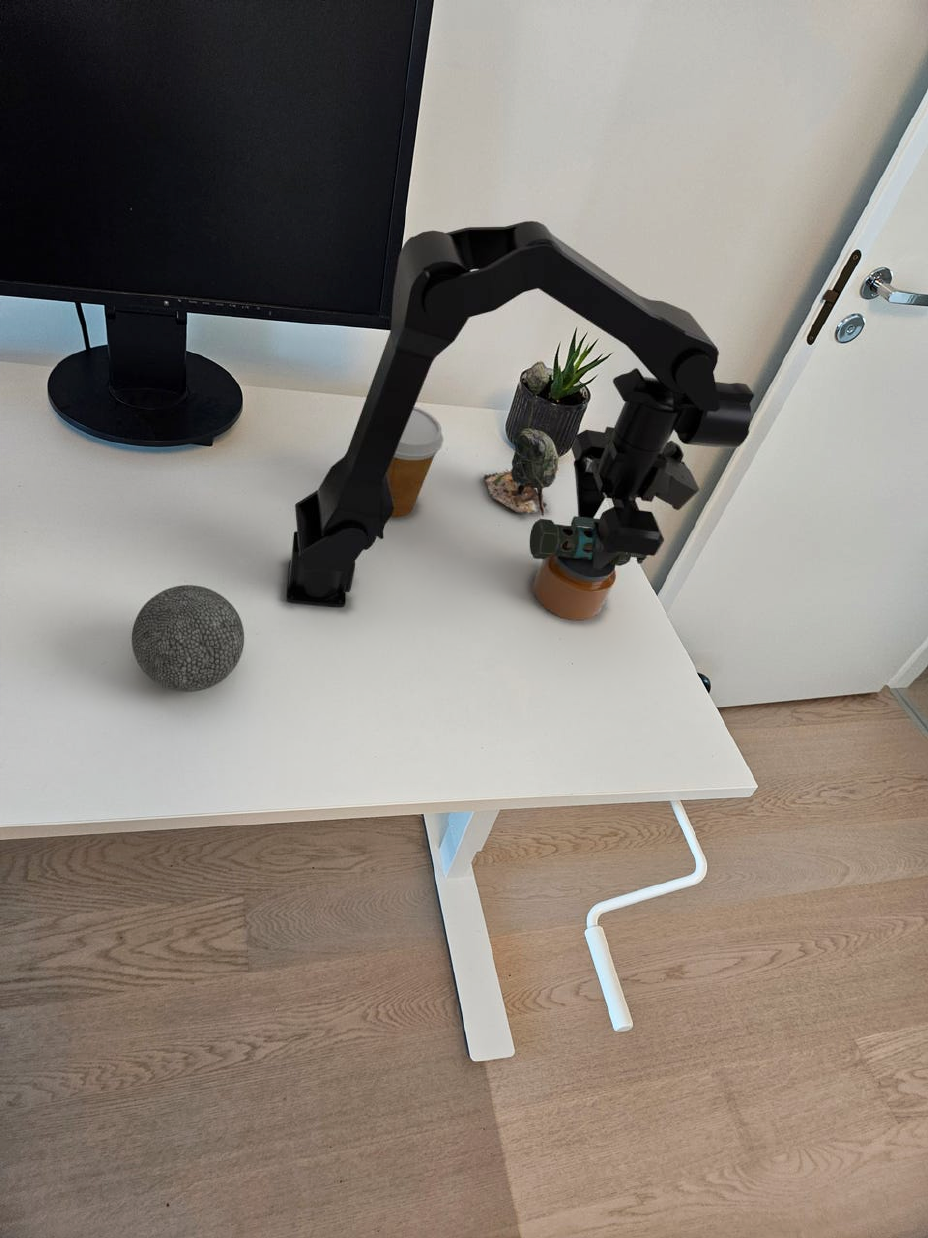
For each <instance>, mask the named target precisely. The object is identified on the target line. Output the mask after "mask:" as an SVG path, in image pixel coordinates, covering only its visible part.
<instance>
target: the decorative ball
mask: <svg viewBox="0 0 928 1238" xmlns="http://www.w3.org/2000/svg"><path fill="white" fill-rule="evenodd" d="M243 625H244V624H243V622H242V620H241V617H240V615H239V613H238V611H237V610H236V608H235V607H234V605H233V604H232V603H231V602H230V601H229V600H228V599H227V598H225V596H223V595H221V594H220V593H218V592H217V591H215V590H212V589H211V588H207V587H205V586H200V585H195V584H183V585H175V586H172V587H169V588H166V589H163V590H162V591H160V592H158V593H157V594H155V595H154V596H152V597H151V598H150V599H149V600H148V601H146V603H145V604H144V605H142V607H141V609H140V610H139V611H138V613H137V616H136V618H135V620H134V623H133V627H132V632H131V647H132V652H133V655H134V658H135V661H136V663H137V664H138V666H139V668H140V669H141V670H142V672H143V673H144V675H146V676H147V677H148V678H149V679H151V680H152V681H153V682H154V683H156V684H158V685H160V686H161V687H163V688H166V689H168V690H172V691H175V692H182V693H194V692H195V693H196V692H200V691H204V690H207V689H209V688H212V687H214V686H216V685H218V684H219V683H221V682H222V681H224V680H225V679H226V678H227V677H228V676H229V675H230V674H231V673H232V672H233V671H234V670H235V668H236V667H237V666H238V663H239V661H240V659H241V657H242V655H243V650H244V645H245V630H244V626H243Z"/></svg>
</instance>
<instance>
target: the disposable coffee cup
mask: <svg viewBox="0 0 928 1238" xmlns="http://www.w3.org/2000/svg"><path fill="white" fill-rule="evenodd" d="M442 432H443V431H442V426H441V424H440V422H439V421H438V419H437V418H436V417H435V416H433V414H431V413H430V412H428V411H426V410H424V409H422V408H420V407H416V406H414V408H413V411H412V413H411V416H410V418H409V421H408V423H407V425H406V428H405V430H404V433H403V435H402V438H401V440H400V443H399V445H398V447H397V450H396V452H395V455H394V457H393V460H392V462H391V465H390V467H389V469H388V472H387V475H388V480H389V485H390V490H391V494H392V499H393V504H394V510H393V513H392V515H391V517H390V518H400V517H403V516H407V515H409V514H410V513H412V511H413V509H414V506H415V504H416V502H417V499H418V497H419V495H420V492H421V490H422V488H423V485H424V482H425V480H426V477H427V476H428V473H429V470H430V468H431V466H432V463H433V461H434V459H435V457H436V454H437V453H438V452H439V451H440V449H441V448H442V447H443V443H444V436H443V433H442Z"/></svg>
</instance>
